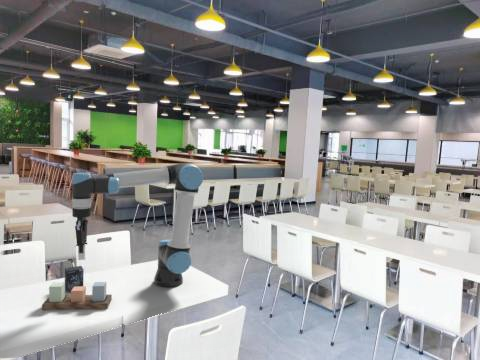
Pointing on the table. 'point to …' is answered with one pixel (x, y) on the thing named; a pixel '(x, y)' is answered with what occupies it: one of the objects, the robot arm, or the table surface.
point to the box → (73, 277)
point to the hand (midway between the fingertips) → (81, 259)
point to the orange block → (78, 294)
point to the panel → (77, 304)
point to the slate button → (99, 291)
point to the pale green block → (57, 292)
